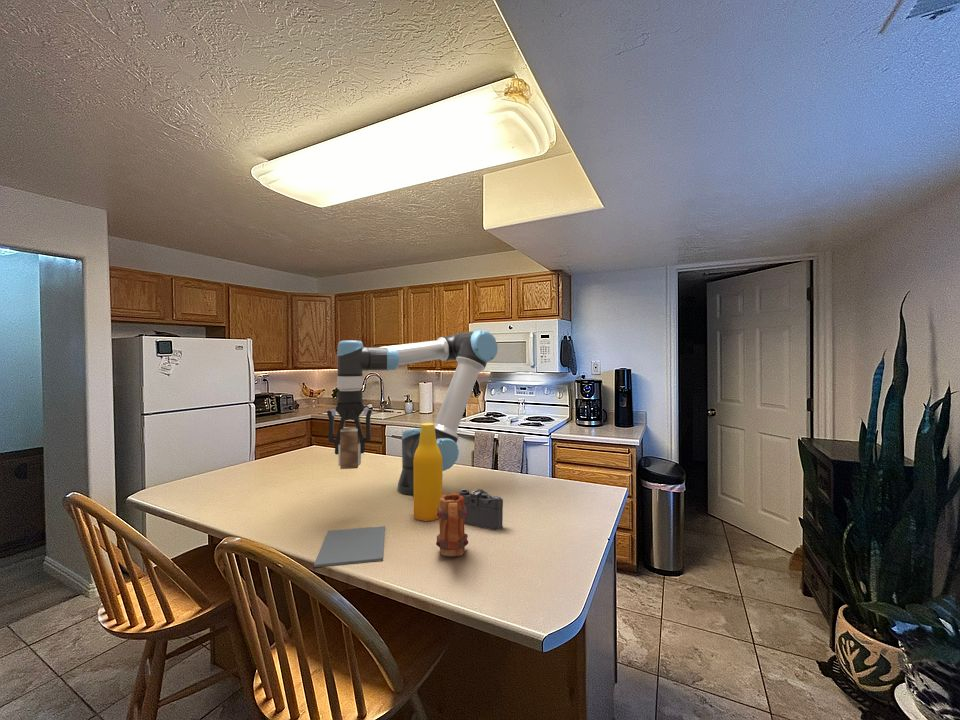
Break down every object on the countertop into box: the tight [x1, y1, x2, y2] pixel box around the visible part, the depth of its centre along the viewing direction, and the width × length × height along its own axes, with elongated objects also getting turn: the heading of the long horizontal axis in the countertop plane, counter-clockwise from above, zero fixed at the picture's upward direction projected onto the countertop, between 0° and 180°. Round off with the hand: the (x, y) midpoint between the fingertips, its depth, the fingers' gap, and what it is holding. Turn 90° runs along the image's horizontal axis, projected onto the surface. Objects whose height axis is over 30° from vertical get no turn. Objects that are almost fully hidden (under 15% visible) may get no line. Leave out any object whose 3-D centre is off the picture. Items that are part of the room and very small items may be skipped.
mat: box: [313, 525, 386, 568], centre depth 109 cm, size 16×20×1 cm
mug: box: [435, 492, 469, 558], centre depth 102 cm, size 15×8×15 cm, turn 5°
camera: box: [458, 488, 504, 531], centre depth 125 cm, size 14×11×10 cm
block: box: [339, 426, 360, 470], centre depth 128 cm, size 5×5×12 cm
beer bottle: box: [412, 422, 444, 522], centre depth 129 cm, size 9×9×29 cm
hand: (349, 464), depth 128 cm, fingers closed on block, 5 cm apart
